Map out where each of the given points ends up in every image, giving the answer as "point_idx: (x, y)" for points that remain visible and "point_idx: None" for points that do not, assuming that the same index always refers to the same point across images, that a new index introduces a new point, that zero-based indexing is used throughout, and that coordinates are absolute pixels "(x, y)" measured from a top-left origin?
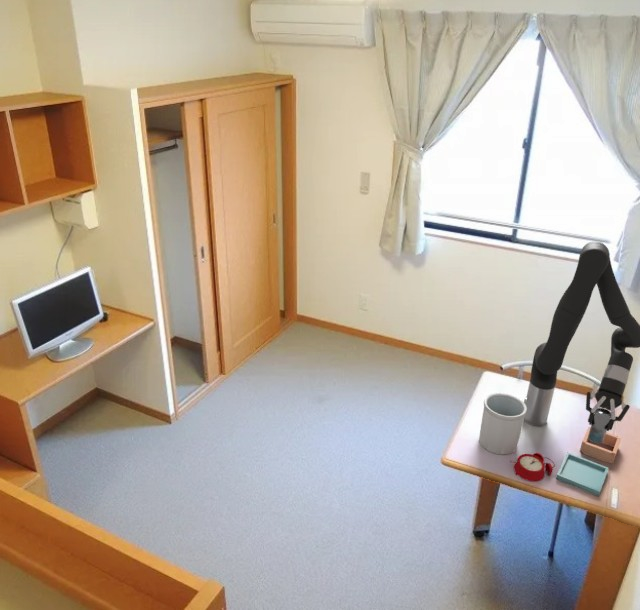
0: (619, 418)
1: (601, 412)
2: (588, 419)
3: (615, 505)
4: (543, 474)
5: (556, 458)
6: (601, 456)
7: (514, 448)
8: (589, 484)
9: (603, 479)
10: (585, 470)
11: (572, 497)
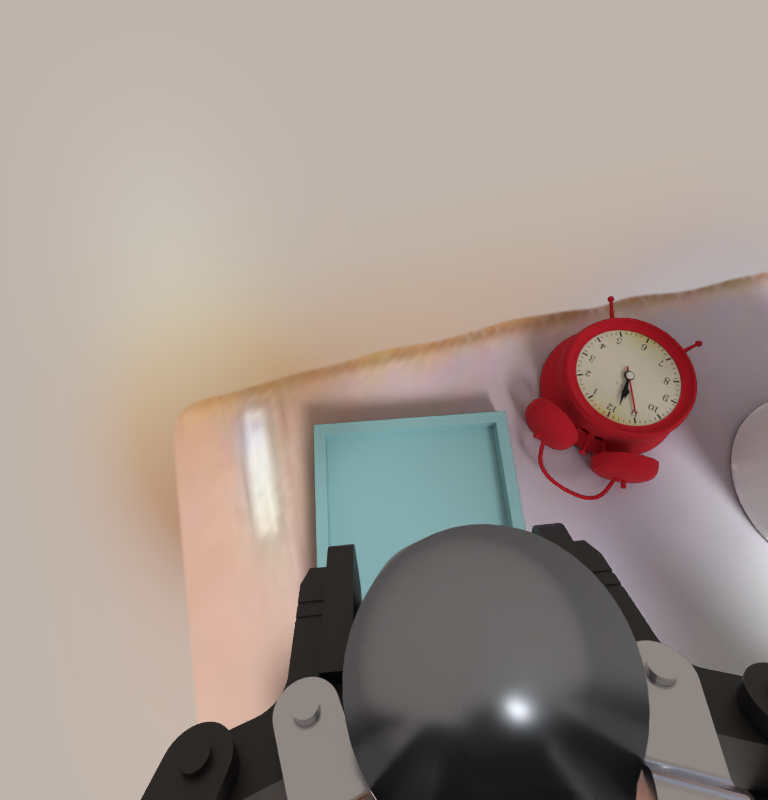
0: (201, 744)
1: (527, 660)
2: (599, 556)
3: (247, 425)
4: (550, 387)
5: None
6: None
7: (746, 461)
8: (368, 465)
9: (320, 523)
10: None
11: (403, 359)
